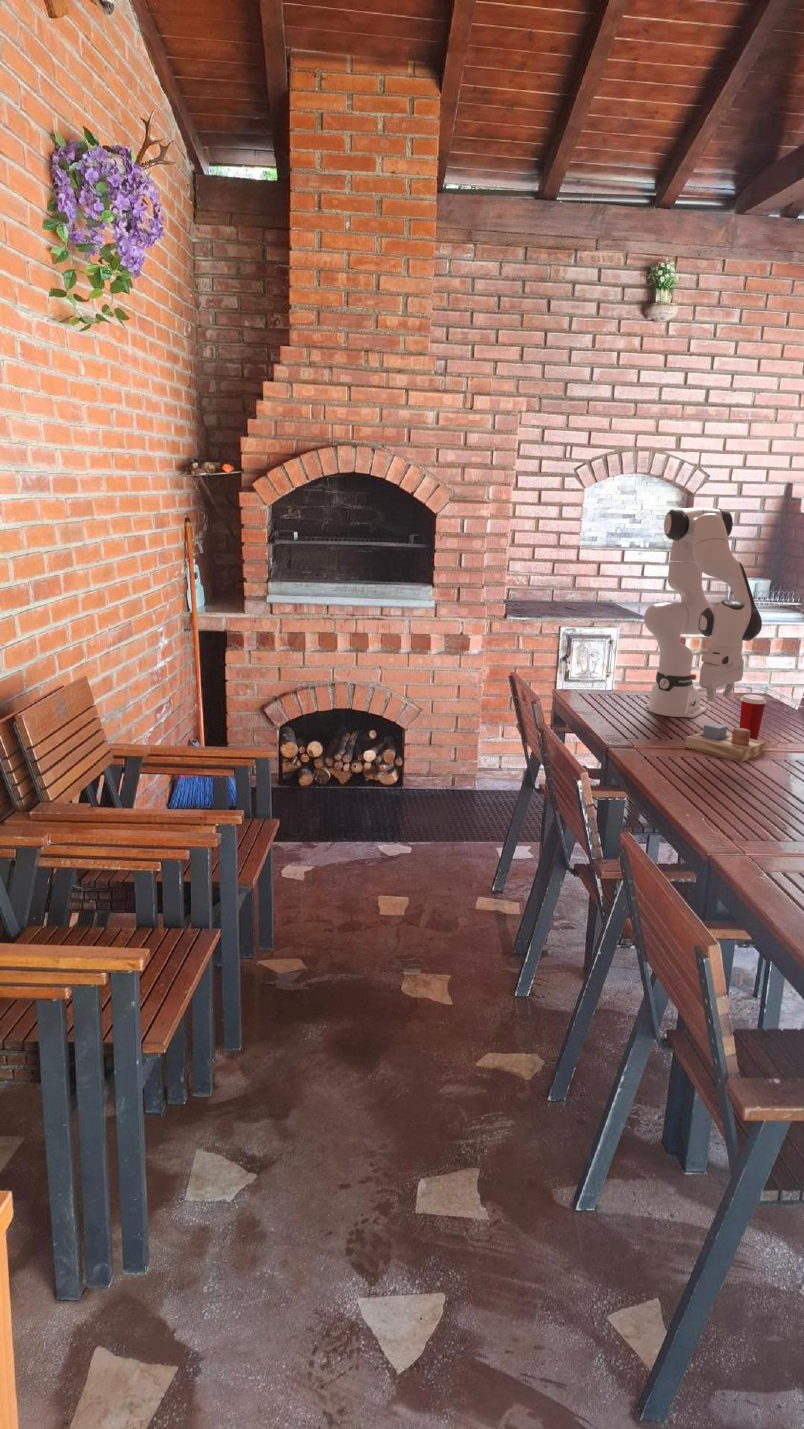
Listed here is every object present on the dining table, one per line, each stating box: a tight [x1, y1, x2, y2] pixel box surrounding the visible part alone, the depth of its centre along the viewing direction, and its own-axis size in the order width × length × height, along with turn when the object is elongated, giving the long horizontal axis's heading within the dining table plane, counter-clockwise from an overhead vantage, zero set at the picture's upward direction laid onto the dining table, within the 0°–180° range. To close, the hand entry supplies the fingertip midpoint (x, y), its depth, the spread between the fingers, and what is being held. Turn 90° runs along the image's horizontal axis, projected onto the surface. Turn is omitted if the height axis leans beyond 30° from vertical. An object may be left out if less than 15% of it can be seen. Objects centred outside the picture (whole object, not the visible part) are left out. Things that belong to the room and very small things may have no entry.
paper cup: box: [738, 694, 767, 740], centre depth 292 cm, size 8×8×14 cm
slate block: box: [702, 722, 728, 741], centre depth 282 cm, size 5×5×6 cm
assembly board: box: [685, 727, 766, 763], centre depth 279 cm, size 15×18×8 cm
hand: (718, 698), depth 279 cm, fingers open, 8 cm apart
